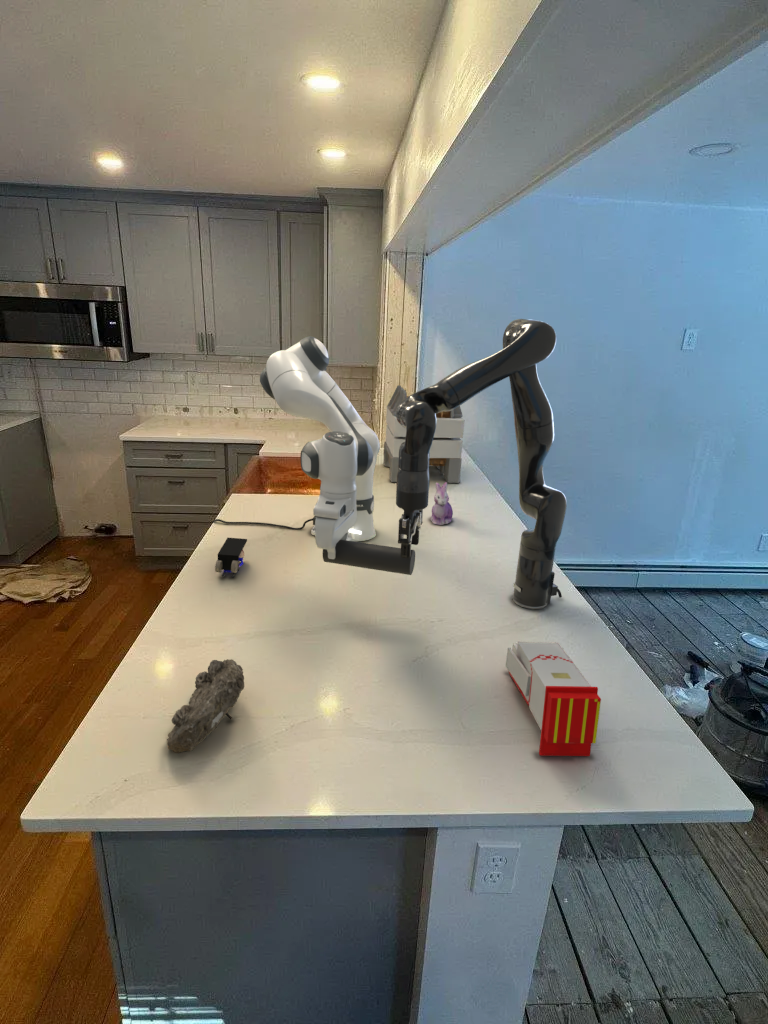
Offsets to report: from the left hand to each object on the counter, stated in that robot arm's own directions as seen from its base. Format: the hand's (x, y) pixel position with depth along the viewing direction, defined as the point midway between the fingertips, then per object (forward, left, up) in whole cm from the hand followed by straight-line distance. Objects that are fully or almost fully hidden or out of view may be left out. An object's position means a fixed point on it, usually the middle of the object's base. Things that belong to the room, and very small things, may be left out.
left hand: (337, 552), depth 142 cm
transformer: (-9, +138, -17) cm, 139 cm away
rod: (+8, 0, -3) cm, 9 cm away
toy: (+53, -22, -17) cm, 59 cm away
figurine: (+14, +76, -17) cm, 79 cm away
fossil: (-8, -46, -17) cm, 49 cm away
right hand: (+18, 0, +3) cm, 19 cm away
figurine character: (-37, +12, -17) cm, 42 cm away
